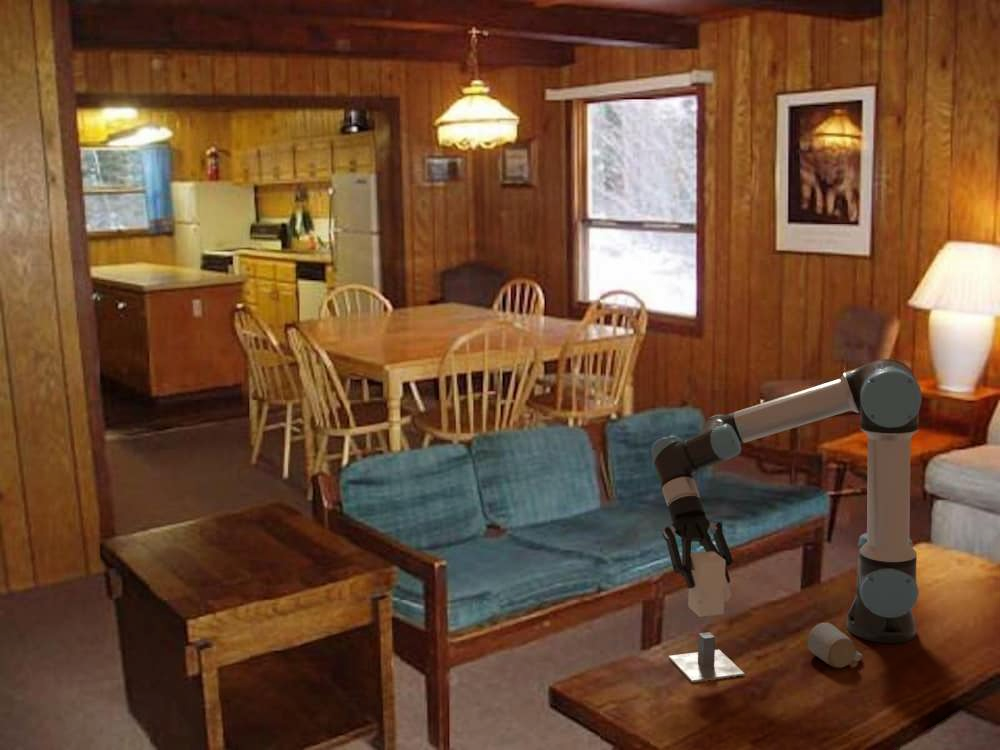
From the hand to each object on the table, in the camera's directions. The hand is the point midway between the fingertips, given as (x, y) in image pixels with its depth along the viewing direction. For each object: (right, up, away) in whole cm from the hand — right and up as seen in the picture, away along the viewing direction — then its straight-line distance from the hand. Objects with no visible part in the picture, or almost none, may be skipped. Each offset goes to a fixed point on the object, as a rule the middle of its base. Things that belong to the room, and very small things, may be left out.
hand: (714, 599), depth 222 cm
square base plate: (0, -16, +6) cm, 17 cm away
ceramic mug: (+28, -15, +9) cm, 34 cm away
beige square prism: (-1, -3, +4) cm, 5 cm away
